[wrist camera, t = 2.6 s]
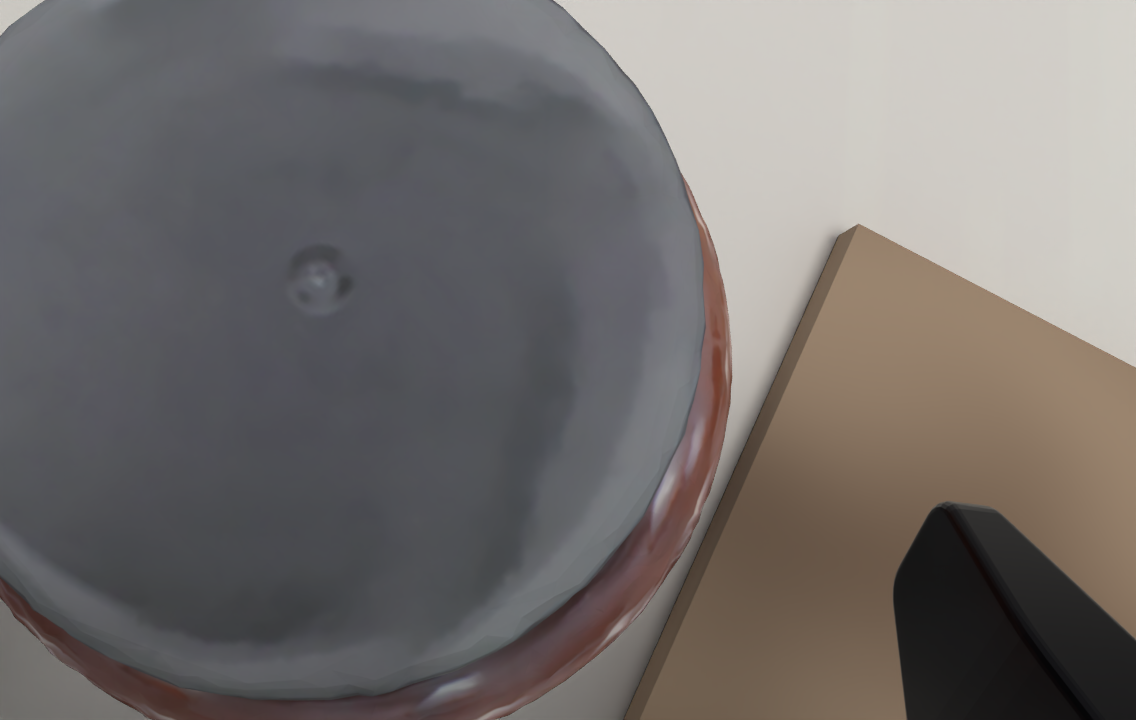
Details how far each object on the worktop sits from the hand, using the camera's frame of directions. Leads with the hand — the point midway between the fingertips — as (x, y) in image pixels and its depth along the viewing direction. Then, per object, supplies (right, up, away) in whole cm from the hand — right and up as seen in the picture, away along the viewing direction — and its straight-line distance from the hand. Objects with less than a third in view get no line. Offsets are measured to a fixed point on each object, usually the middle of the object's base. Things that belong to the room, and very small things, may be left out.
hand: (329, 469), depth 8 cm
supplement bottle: (-1, 0, +9) cm, 9 cm away
